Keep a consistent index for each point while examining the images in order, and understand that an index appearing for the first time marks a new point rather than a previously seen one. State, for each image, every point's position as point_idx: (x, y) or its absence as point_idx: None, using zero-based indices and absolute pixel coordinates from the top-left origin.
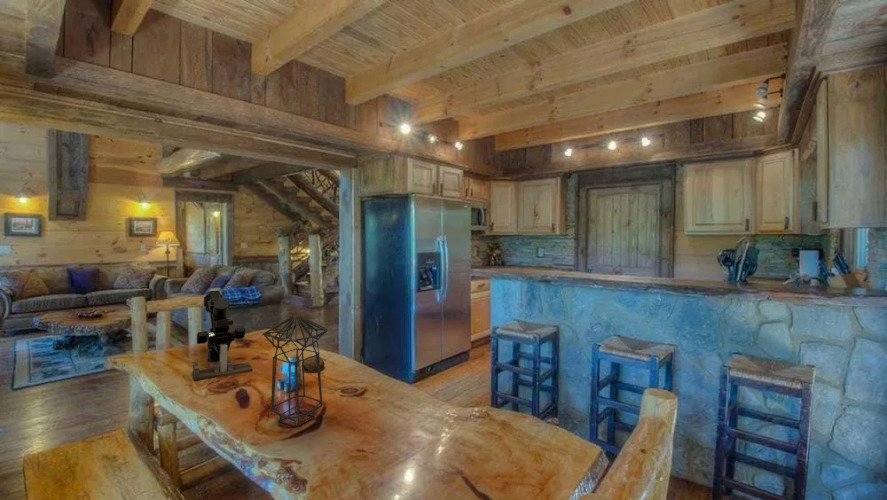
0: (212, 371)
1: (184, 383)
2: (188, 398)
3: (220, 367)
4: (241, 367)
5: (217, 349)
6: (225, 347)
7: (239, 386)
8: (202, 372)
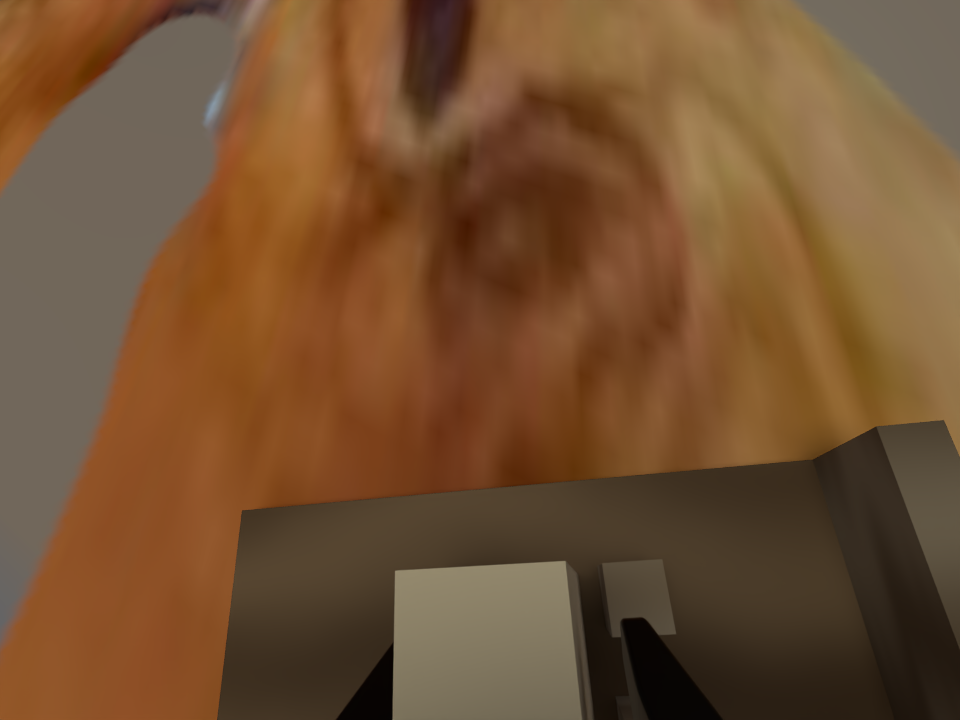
0: None
1: (956, 434)
2: (782, 65)
3: (580, 602)
4: (329, 651)
5: (667, 658)
6: (453, 570)
7: (433, 164)
8: (828, 709)
